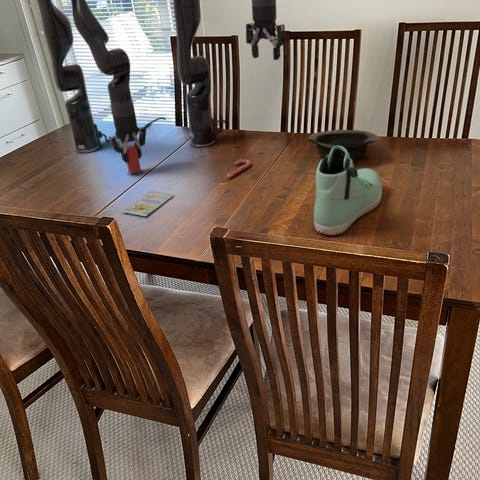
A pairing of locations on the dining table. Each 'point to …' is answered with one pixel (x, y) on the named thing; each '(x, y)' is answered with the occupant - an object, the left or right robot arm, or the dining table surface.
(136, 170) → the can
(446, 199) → the dining table surface
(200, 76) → the right robot arm
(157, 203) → the baking ingredient package
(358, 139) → the stone bowl
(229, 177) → the candy cane
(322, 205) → the sneaker
